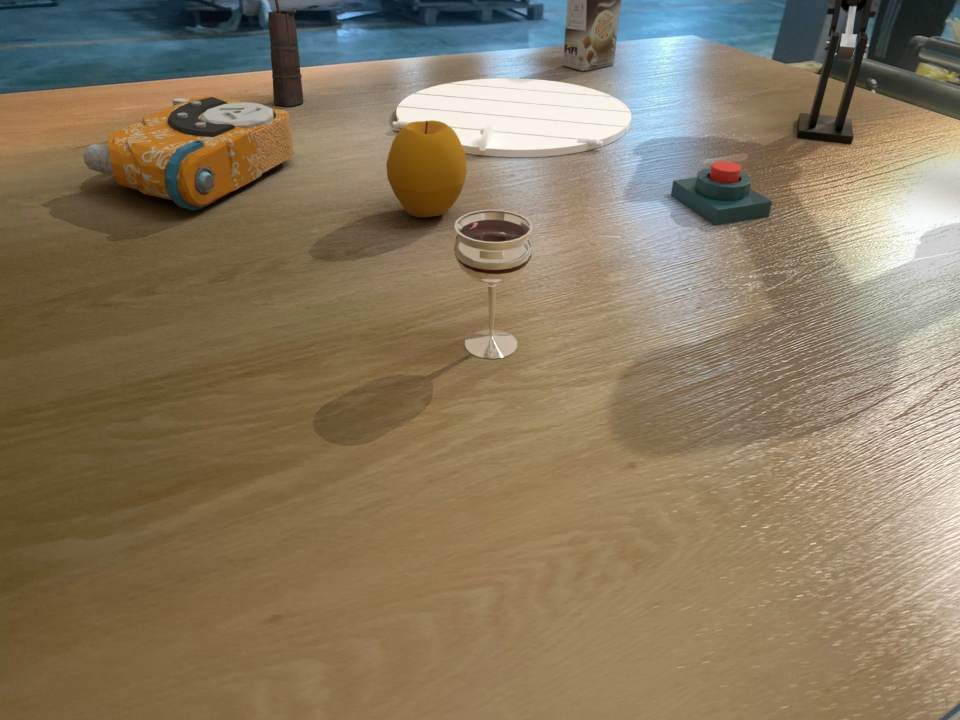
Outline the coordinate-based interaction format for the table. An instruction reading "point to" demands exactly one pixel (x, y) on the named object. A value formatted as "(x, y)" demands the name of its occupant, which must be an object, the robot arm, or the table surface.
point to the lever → (849, 29)
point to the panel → (721, 199)
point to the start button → (725, 172)
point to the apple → (426, 168)
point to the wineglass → (492, 266)
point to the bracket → (839, 125)
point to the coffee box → (591, 33)
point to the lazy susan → (520, 116)
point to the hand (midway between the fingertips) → (847, 32)
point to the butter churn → (285, 58)
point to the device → (196, 149)
